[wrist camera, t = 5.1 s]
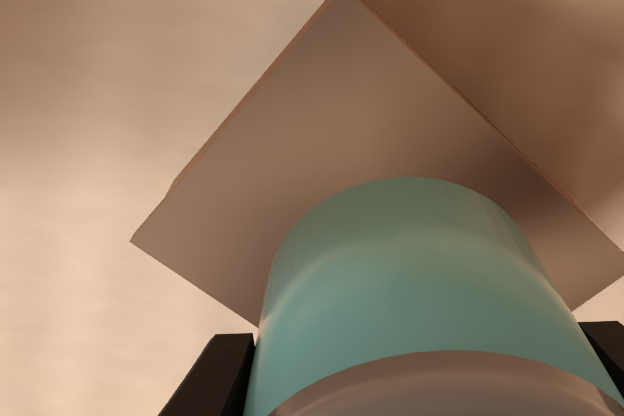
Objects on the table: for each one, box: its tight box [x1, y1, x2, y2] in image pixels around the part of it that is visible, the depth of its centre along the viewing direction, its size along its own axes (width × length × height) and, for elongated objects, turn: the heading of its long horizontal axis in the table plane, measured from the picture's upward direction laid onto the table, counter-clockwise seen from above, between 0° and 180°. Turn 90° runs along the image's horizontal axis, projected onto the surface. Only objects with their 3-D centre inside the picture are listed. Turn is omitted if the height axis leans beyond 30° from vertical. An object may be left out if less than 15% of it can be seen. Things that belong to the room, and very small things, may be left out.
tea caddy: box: [242, 177, 624, 416], centre depth 8 cm, size 5×5×5 cm
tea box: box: [129, 0, 624, 328], centre depth 16 cm, size 10×8×4 cm
